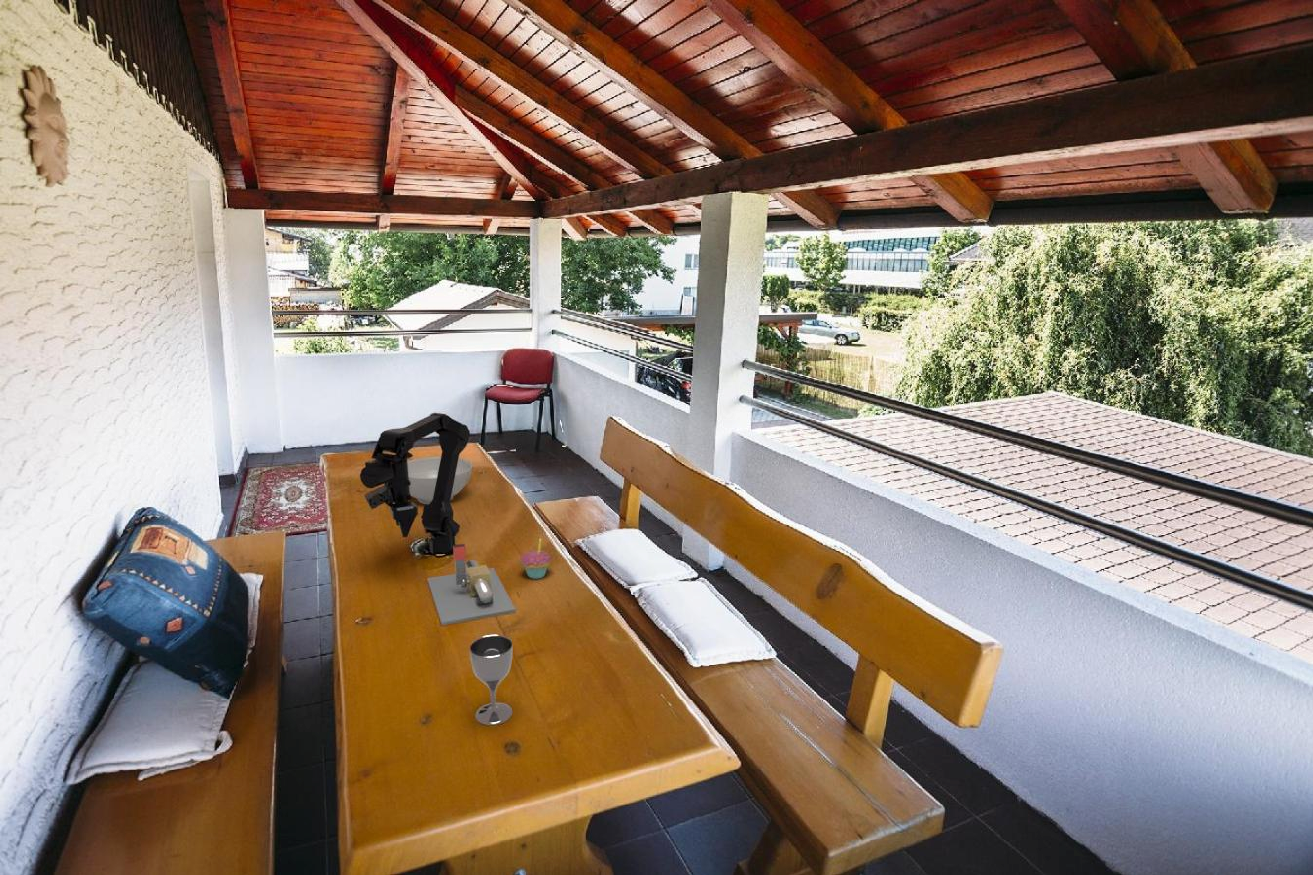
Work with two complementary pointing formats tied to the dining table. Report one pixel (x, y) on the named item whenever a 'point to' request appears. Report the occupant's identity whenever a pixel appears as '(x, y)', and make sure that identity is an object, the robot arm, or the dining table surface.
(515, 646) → the dining table surface
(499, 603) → the mounting board
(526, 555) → the cupcake
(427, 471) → the decorative bowl
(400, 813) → the dining table surface
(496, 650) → the wine glass
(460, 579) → the valve lever
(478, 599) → the ball valve
